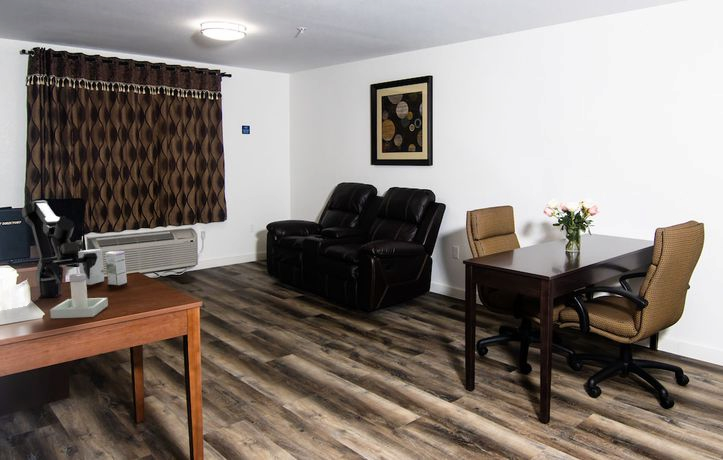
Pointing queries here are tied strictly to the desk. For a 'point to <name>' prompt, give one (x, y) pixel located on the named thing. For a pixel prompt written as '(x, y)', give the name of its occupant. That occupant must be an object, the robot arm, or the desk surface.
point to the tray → (68, 312)
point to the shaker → (78, 290)
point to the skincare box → (93, 267)
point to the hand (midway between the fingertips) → (75, 280)
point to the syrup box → (116, 267)
